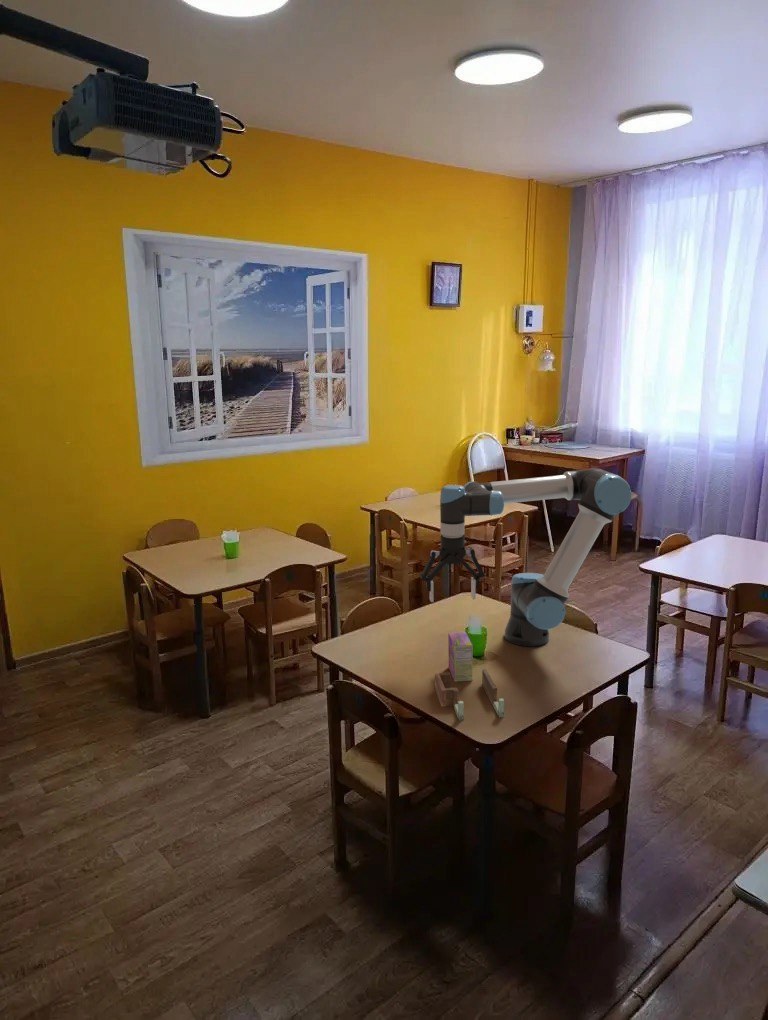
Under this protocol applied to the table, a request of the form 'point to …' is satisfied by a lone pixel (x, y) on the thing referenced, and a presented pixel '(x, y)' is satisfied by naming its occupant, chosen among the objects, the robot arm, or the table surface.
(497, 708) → the kerbs
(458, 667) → the box
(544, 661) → the table surface
